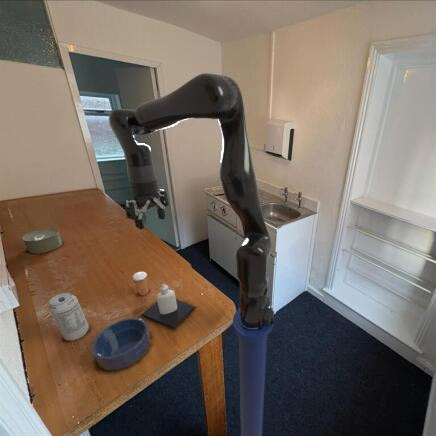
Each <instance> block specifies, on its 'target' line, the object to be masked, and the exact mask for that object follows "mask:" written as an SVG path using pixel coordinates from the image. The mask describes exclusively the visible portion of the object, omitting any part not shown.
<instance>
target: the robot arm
mask: <svg viewBox="0 0 436 436" xmlns="http://www.w3.org/2000/svg"><path fill="white" fill-rule="evenodd" d="M244 106H245V105H244V99H243V94H242V91H241V89H240V86H239V85H238V83H237V82H236V80H235V79H233V78H232V77H230V76H227V75H223V74H216V73H210V72H209V73H208V72H203V73H200V74H197V75H196V76H194V77H192V78H191V79H189V80H188V81H187V82H185V83H184V84H183V85H181V86H180V87H178V88H177V89H175V90H173V91H172V92H169V93H168V94H166V95H163V96H161V97H158V98H155V99H151V100H148V101H145V102H143V103H141V104H139V105H138V106H136V108H135V109H133V108H132V109H127V108H116V109H115V108H114V109H112V110H111V111H110V113H109V115H108V124H109V126H110V128H111V131H112V132H113V134H114V136H115V138H116V139H117V142H118V144H119V145H120V147H121V149H122V152H123V154H124V159H125V163H126V172H127V173H126V174H127V177H128V181H129V187H130V191H131V194H132V195H133V199H131V200H124V209H125V214H126V219H128V220H132V221H134V224H135V228H137V229H139V230H143V229H145V225H144V220H143V215H144V214H145V213H146V211H147V210H149V209H151V208H154V207H155V208H157V211H156V212H157V216H158V219H159V220H165V219H166V218H165V217H166V212H165V209H166V207H168V206H169V198H168V194H167V191H166V190H164V189H159V184H158V179H157V173H156V169H155V166H154V162H153V155H152V151H151V147H150V146H149V145H147V144H145V143H139V142H137V141H136V139H135V136H137V137H138V136H147V135H150V134H153V133H155V132H157V131H159V130H164V129H167V128H170V127H174V126H175V125H178V123H180V122H181V121H186V120H193V119H209V120H218V123H219V126H220V127H219V128H220V130H221V135H222V151H221V158H220V163H219V178H220V183H221V186H222V187H221V188H222V191H223V193H224V196H225V200H226V201H227V203H228V205H229V207H230V208H231V209H232V210H233V211H234V213H235V214H236V215H237V216H238V218H239V220H240V224H241V227H242V230H243V231H242V232H243V241H242V242H241V244H240V245H239V247H238V249H237V250H236V255H235V265H236V266H235V267H236V276H237V279H238V281H239V308H240V323H241V325H242V326H243V327H244V328H245V329H248V330H257V329H259V330H262V328H263V326H264V325H265V324H266V325H268V326H269V325H270V324H273V325H274V324H275V322H276V321H275V317H274V316H275V311H274V310H272V309H270V297H269V295H268V294H269V273H268V271H267V265H268V260H269V258H270V255H271V253H272V250H273V249H272V248H273V244H272V240H271V236H270V234H269V231H268V228H267V225H266V222H265V218H264V213H263V207H262V201H261V197H260V192H259V191H260V190H259V186H258V181H257V175H256V171H255V169H254V163H253V160H252V159H253V158H252V154H251V147H250V143H249V138H248V132H247V124H246V123H247V122H246V114H245V107H244ZM140 208H141V209H140ZM273 317H274V319H273ZM271 320H272V321H271Z"/></svg>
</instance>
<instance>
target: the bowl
mask: <svg viewBox="0 0 436 436" xmlns="http://www.w3.org/2000/svg"><path fill="white" fill-rule="evenodd" d="M150 345H151V335H150V330H149V326H148V324H147V323H146V321H145V320H143V319H141V318H137V317H135V318H134V317H129V318H125V319H121V320H118V321H116V322H114V323H112V324H110V325H108V326H106V328H104V329H103V330H102V331H101V332H99V334H98V335H97V336H96V338H95V339H94V341H93V344H92V347H91V351H92V353H93V356H94V357H95V360H96V362H97V364H98V367H99V368H101V369H103V370H105V371H118V370H121V369H124V368H128V367H129V366H131V365H132V364H134V363H135V362H137V361H138V360H140V359H141V358H142V357H143V356H144V355H145V354H146V352H147V351H148V349H149V347H150Z"/></svg>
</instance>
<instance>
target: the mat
mask: <svg viewBox="0 0 436 436" xmlns="http://www.w3.org/2000/svg"><path fill="white" fill-rule="evenodd" d="M176 303H177V310H175V311H173V312H171V313H168V314H160V311H159V307H158V302H157V301H156V302H155V303H153V304H152V305H151V306H150V307H148V308H147V309H146V310H145V311H144V312H142V317H145V318H147V319H149V320H151V321H154V322H156V323H159V324H162V325H164V326H166V327H168V328H171V329H173V330H175V329H176V328H177V327H178V326H179V325H180V324H181V323H182V322H183V321H184V320H185V319H186V317H188V315H189V314H190V313H192V312H193V310H194V309H196V308H195V306H194V305H192V304H189V303H187V302H184V301H182V300H179V299H176Z"/></svg>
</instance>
